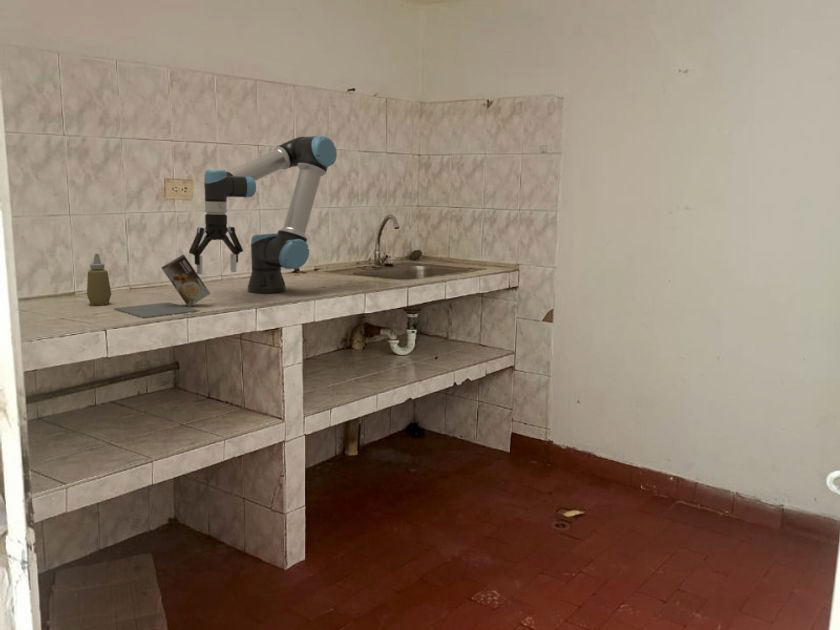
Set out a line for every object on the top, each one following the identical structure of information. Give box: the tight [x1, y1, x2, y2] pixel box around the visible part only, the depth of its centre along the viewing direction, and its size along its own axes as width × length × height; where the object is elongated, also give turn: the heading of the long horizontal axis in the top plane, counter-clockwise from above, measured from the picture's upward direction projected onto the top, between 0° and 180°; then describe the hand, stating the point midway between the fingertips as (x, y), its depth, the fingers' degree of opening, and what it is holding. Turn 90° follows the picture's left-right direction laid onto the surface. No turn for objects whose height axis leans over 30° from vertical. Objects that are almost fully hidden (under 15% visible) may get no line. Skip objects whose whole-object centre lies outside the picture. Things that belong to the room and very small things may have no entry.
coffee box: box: [161, 254, 211, 308], centre depth 263 cm, size 9×6×16 cm
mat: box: [113, 301, 201, 319], centre depth 255 cm, size 20×22×1 cm
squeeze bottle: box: [86, 253, 112, 306], centre depth 263 cm, size 8×8×18 cm
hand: (216, 272), depth 269 cm, fingers open, 13 cm apart
